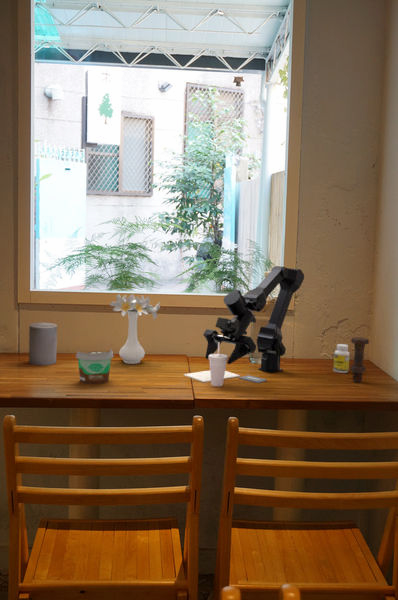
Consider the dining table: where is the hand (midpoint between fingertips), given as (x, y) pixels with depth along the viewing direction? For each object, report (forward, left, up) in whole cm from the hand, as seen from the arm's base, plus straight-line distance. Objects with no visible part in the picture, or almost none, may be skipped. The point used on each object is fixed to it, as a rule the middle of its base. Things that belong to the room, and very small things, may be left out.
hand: (217, 361), depth 213 cm
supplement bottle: (-52, +8, -8) cm, 54 cm away
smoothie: (0, 0, -8) cm, 8 cm away
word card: (-15, +1, -8) cm, 17 cm away
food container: (+32, -22, -8) cm, 39 cm away
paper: (-6, -10, -8) cm, 14 cm away
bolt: (-45, +21, -8) cm, 51 cm away
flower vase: (+6, -41, -8) cm, 42 cm away
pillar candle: (+35, -56, -8) cm, 66 cm away
